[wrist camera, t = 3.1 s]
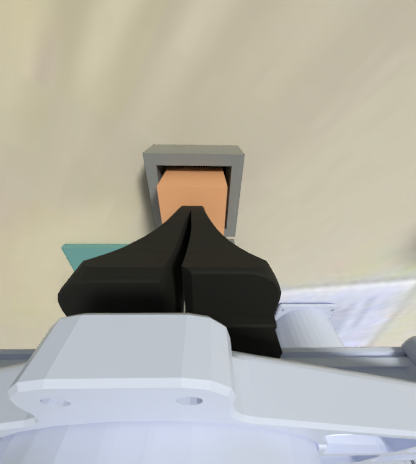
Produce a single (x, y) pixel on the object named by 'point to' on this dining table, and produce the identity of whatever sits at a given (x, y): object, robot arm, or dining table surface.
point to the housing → (197, 156)
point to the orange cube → (194, 192)
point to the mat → (87, 252)
